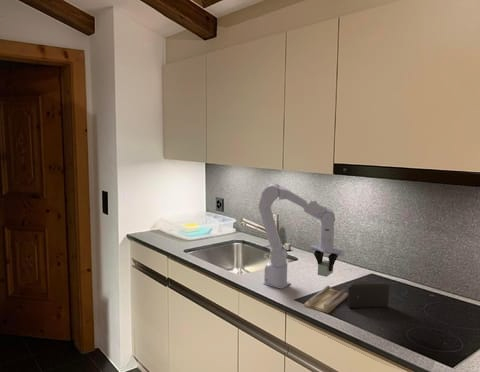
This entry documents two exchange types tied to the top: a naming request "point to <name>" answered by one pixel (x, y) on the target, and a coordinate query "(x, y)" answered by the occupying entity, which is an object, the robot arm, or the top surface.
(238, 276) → the top surface
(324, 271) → the module
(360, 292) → the leaning round-cornered charcoal block
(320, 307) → the rail board
